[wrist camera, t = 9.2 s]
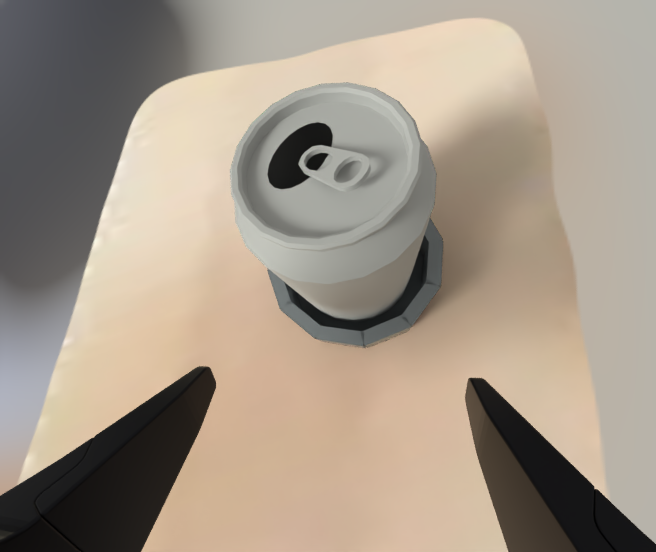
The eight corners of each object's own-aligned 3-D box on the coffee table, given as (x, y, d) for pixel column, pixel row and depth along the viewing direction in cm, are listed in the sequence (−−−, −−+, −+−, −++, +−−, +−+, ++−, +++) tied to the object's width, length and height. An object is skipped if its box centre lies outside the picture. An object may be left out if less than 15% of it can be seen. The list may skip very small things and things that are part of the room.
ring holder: (465, 252, 19) (479, 234, 17) (371, 381, 18) (369, 384, 15) (342, 182, 23) (337, 156, 20) (257, 285, 22) (238, 274, 19)
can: (342, 206, 22) (299, 37, 10) (430, 255, 19) (499, 105, 8) (283, 285, 21) (164, 192, 9) (369, 346, 18) (348, 322, 7)
